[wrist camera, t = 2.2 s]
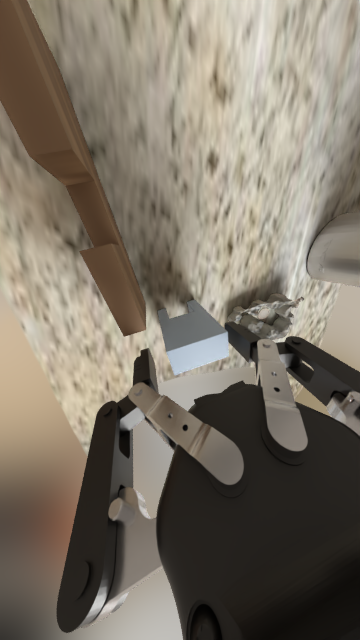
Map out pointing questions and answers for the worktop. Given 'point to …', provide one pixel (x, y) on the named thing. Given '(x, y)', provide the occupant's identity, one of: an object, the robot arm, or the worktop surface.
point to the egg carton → (257, 326)
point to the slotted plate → (64, 154)
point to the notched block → (193, 338)
